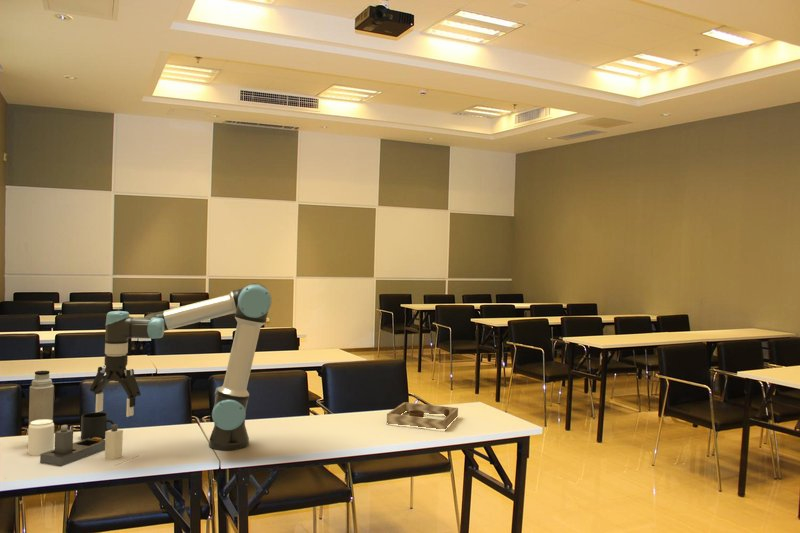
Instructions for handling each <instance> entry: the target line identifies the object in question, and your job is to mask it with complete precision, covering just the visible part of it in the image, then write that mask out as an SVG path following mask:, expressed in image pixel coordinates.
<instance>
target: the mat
mask: <svg viewBox="0 0 800 533" xmlns="http://www.w3.org/2000/svg"><path fill="white" fill-rule="evenodd" d="M137 457H138V458H139V455H137V456H134V457H132V458H129V459H127V460H126V462H127V461H130V460H133V459H134V458H135V459H136V458H137ZM122 463H124V461H122V462H121V463H118V464H115V465H114V466H115V467H116V466H117V465H120V464H122Z"/></svg>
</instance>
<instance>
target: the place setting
mask: <svg viewBox="0 0 800 533" xmlns="http://www.w3.org/2000/svg"><path fill="white" fill-rule="evenodd" d="M444 415H445V416H446V417H447V416H448V415H449V409H445V410H444ZM408 416H415V417H425V415H424V412H423V411H419V410H411V411H409V413H408ZM446 417H445V418H446Z"/></svg>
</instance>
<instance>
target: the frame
mask: <svg viewBox="0 0 800 533" xmlns="http://www.w3.org/2000/svg"><path fill="white" fill-rule="evenodd" d="M445 409H449V415H448V416H447V417H444V418H443V419H442V418H441V419H439V418H434V419H433V418H430V417H427V418H423V417H415V416H409V415H404V414H405V413H404V412H405V411H407V412H409V411H411V410H419V411H423V412H424V413H429V414H444V410H445ZM402 413H404V414H403V415H401V414H402ZM457 416H458V417H459V408H458V407H453V406H443V405H435V404H425V403H418V402H417V403H415V402H408V401H407V402H405V401H404V402H402V403H401V404H399V405H398V406H397V407H395V408H394V409H392V410H391V411H389V412H387V413H386V424H387V423H388V424H398V425H410V426H418V427H426V428H436V429H446V428H447V426H448V425H449V424H450V423H451V422H452V421H453V420H454V419H455V418H456V417H457Z"/></svg>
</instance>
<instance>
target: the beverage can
mask: <svg viewBox="0 0 800 533" xmlns="http://www.w3.org/2000/svg"><path fill="white" fill-rule="evenodd" d="M27 438H28V439H27V455H29V456H34V457H35V456H40V454H42V453H45V452H48V451H51V450H54V449H55V422H54V419H53V420H50V419H41V420H35V421H32V422H30V425H29V424H28V433H27Z"/></svg>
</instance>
